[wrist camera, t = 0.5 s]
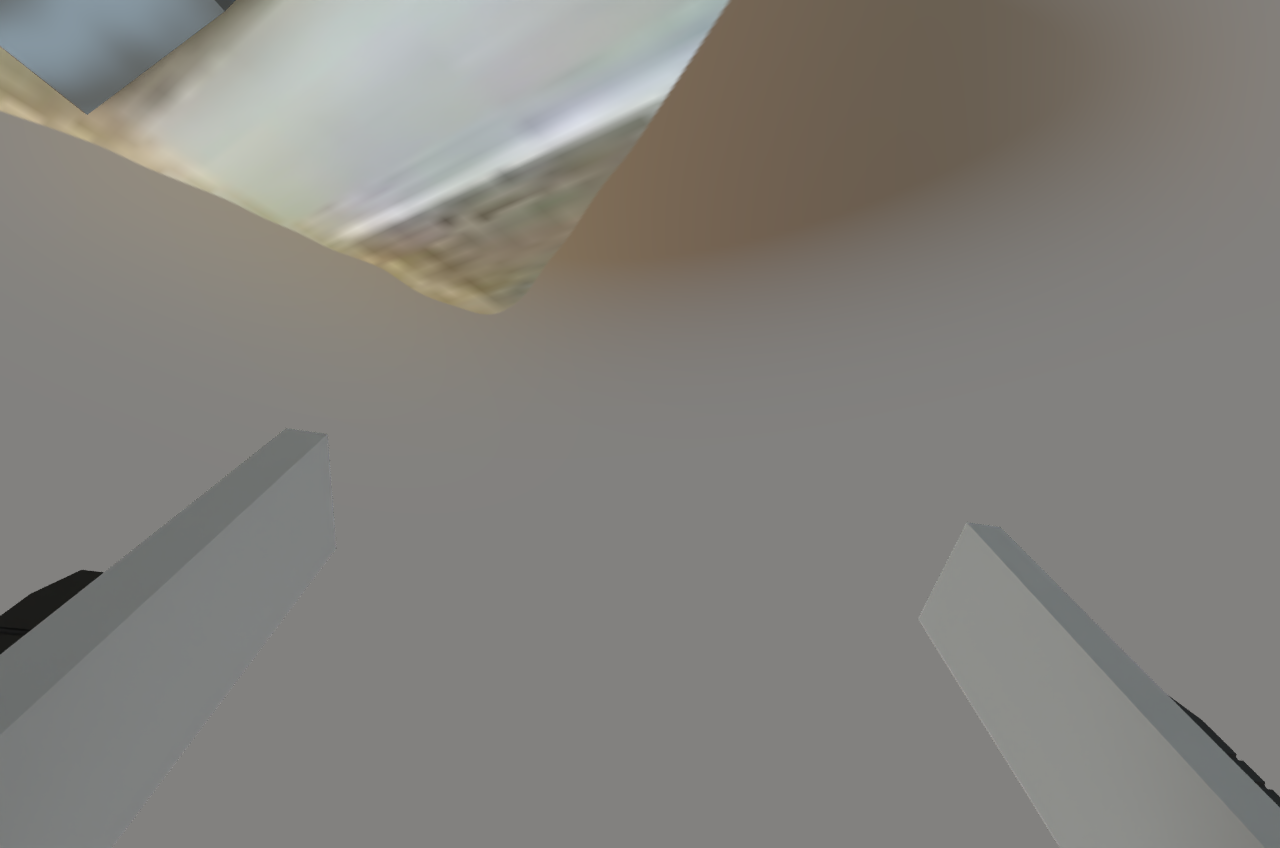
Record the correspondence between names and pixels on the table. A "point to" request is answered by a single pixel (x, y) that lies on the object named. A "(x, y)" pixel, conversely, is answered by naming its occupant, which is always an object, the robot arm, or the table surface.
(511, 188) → the table surface
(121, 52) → the build plate
